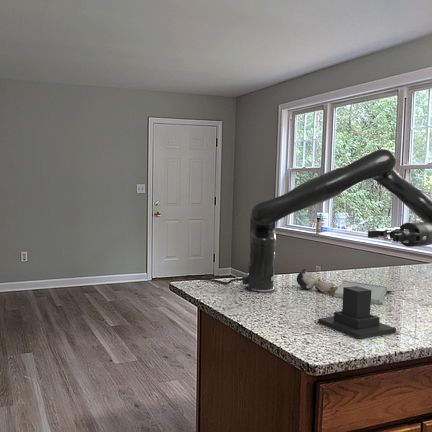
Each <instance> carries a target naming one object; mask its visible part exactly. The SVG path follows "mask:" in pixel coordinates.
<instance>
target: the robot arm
mask: <svg viewBox="0 0 432 432" xmlns="http://www.w3.org/2000/svg"><path fill="white" fill-rule="evenodd" d="M396 164H397V157H396V154H394V152H393V151H391V150H389V149H385V148H379V149H374V150H372V151H371V152H369V153H367V154H365V155H364V156H362V157H360V158H358V159H357V160H354V161H353V162H351V163H349V164H346V165H343V166H341V167H338V168H334V169H332V170H330V171H327V172H324V173H322V174H320V175H317V176H315V177H313V178H310V179H308V180H306V181H304V182H302V183H299V185H297V186H295V187H293V188H292V189H291V190H289V191H288V192H286V193H284V194H282V195H279V196H276V197H273V198H271V199H267V200H259V201H256V202H255V203H254V204H253V205H252V206H251V209H250V213H249V248H248V266H247V267H248V268H247V269H248V271H247V274H246V273H245V274H242V277H241V278H233V279H229V280H227V281H222V280H219V279H216V278H215V279H214V278H206V277H199V276H195V275H193V274H187V275H185V276H184V277H183V279H187V278H193V279H196V280H199V281H209V282H215V283H218V284H223V285H229V284H231V283H232V282H239V281H242V285H247V290H248V291H253V292H258V293H259V292H260V293H269V292H273V291H274V289H275V288H274V286H275V285H274V282H275V281H274V280H276V279H275V278H276V275H275V260H276V223H277V222H278V221H280V220H282V219H283V218H285V217H288V216H290V215H292V214H294V213H296V212H299V211H302V210H306V209H309V208H312V207H315V206H316V205H320V204H322V203H324V202H327V201H330V200H331V199H333V198H335V197H337V196H339V195H341V194H342V193H345V192H346V191H348V190H349V189H351V188H352V187H355V186H356V185H358V184H360V183H363V182H364V181H365V182H366V181H368V180H372V181H374V182H376V183H377V184H379V185H380V186H382V187H383V188H384V189H386V190H387V191H389V192H390V193H391V194H392V195H393V196H395V197H396V198H397V199H398V200H399V201H401V202H402V203H403V204H404V206H406V207H407V208H408V209H409V210H410V211H411V212H412V213H413V214H414V215H416V217H417V218H418V219H420V220H421V221H415V222H404V223H402V224H401V225H400V226H399V227H394V228H390V227H389V228H387V227H385V228H372V229H371V230H367V238H368V239H383V240H385V241H392V242H394V243H400V244H401V245H403V246H404V247H408V248H416V247H427V246H432V196H430V195H429V194H427V193H426V192H425V191H423V190H422V189H420V188H419V187H417V186H416V185H414V184H412V183H410V182H409V181H407V180H406V179H405V178H403V177H402V176H401V174H399V172H398V171H397V170H396V169H395V167H396ZM388 236H389V237H388Z"/></svg>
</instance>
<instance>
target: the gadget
mask: <svg viewBox="0 0 432 432" xmlns="http://www.w3.org/2000/svg"><path fill="white" fill-rule="evenodd" d="M352 286H359V287H362V288H366V289H369V290H372V291H371V304H376V305H380V304H381V303H382V301H383V300H384V297H385V296H386V293H387V292H390V291H391V292H393V286H388V285H381V284H375V283H368V282H361V281H356V280H355V281H354V280H344V279H343V280H342V282H341V283H340V284H339V285H338V286H337V287H338V288H337V290H336V291H335V292H334V293H332V297H335V298H342V299H343V288H344V287H352Z"/></svg>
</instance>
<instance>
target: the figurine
mask: <svg viewBox="0 0 432 432" xmlns="http://www.w3.org/2000/svg"><path fill="white" fill-rule="evenodd" d="M296 282H297V285H299V287H300V288H301V289H303V290H311V289H313V288H314V289H315V290H316V291H320V292H322V293H324V294H325V295H326V294H334V292H335V291H336V290H337V288H338V287H339V286H337V285H336V286H335V283H334V282H333V283H332V282H329V281H323V279H322V278H318V275H316V273H313V272H310V271H308V270H307V268H303V269H302V270H301V272H299V273H298V274H297V276H296Z"/></svg>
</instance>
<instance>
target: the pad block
mask: <svg viewBox="0 0 432 432" xmlns="http://www.w3.org/2000/svg"><path fill="white" fill-rule="evenodd" d="M371 291H372V290H369V289H366V288H362V287H359V286H352V287H344V288H343V298H342V307H341V309H342V310H341V311H342V314H344V315H347V316H350V317H352V318H355V319H365V318H370V314H371V304H372V303H371Z"/></svg>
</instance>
